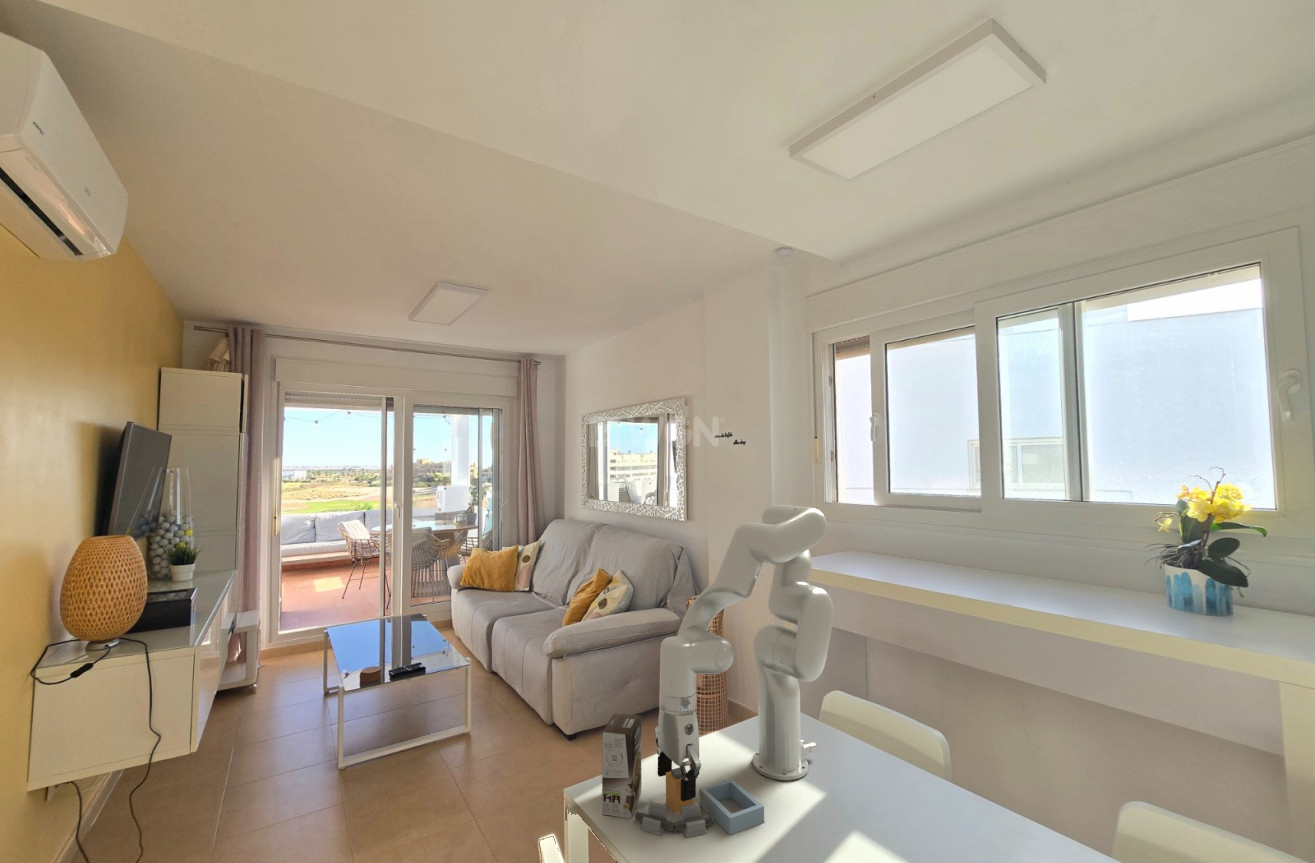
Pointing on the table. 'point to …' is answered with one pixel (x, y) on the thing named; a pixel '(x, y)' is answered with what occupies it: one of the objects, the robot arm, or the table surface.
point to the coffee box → (621, 765)
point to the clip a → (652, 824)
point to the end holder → (728, 821)
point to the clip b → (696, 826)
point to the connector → (675, 791)
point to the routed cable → (673, 825)
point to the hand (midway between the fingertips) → (675, 786)
